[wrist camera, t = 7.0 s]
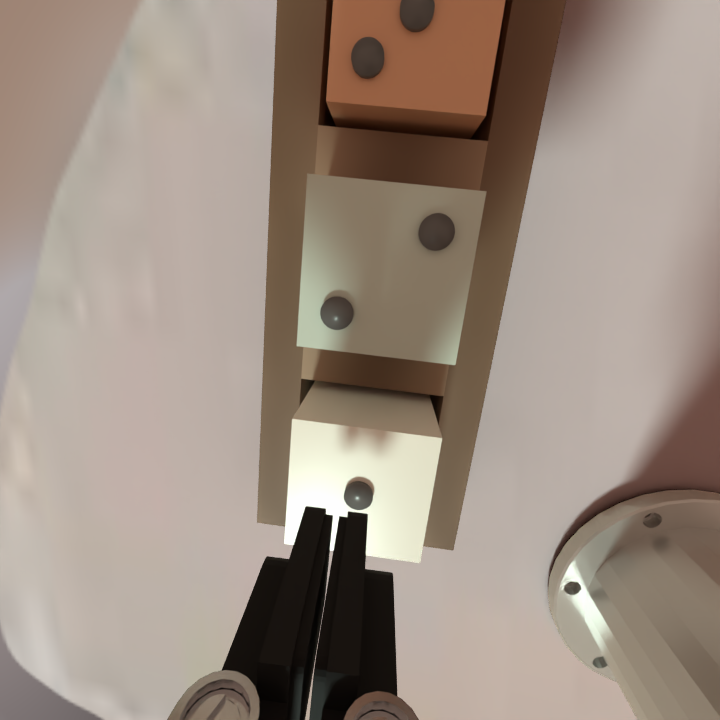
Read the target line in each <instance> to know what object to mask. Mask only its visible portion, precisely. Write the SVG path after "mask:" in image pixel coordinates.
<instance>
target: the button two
mask: <svg viewBox="0 0 720 720" xmlns="http://www.w3.org/2000/svg"><path fill="white" fill-rule="evenodd" d="M486 192H487V191H477V190H467V189H457V188H447V187H437V186H427V185H417V184H407V183H397V182H387V181H377V180H367V179H357V178H347V177H337V176H327V175H317V174H307V186H306V202H305V219H304V235H303V251H302V267H301V283H300V299H299V315H298V331H297V346H300V347H308V348H316V349H325V350H333V351H341V352H350V353H358V354H366V355H375V356H383V357H391V358H399V359H408V360H416V361H424V362H433V363H441V364H449V365H456V359H457V354H458V348H459V343H460V337H461V331H462V326H463V320H464V315H465V309H466V303H467V298H468V292H469V287H470V281H471V276H472V270H473V264H474V259H475V253H476V248H477V242H478V236H479V231H480V225H481V220H482V214H483V209H484V203H485V197H486Z"/></svg>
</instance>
